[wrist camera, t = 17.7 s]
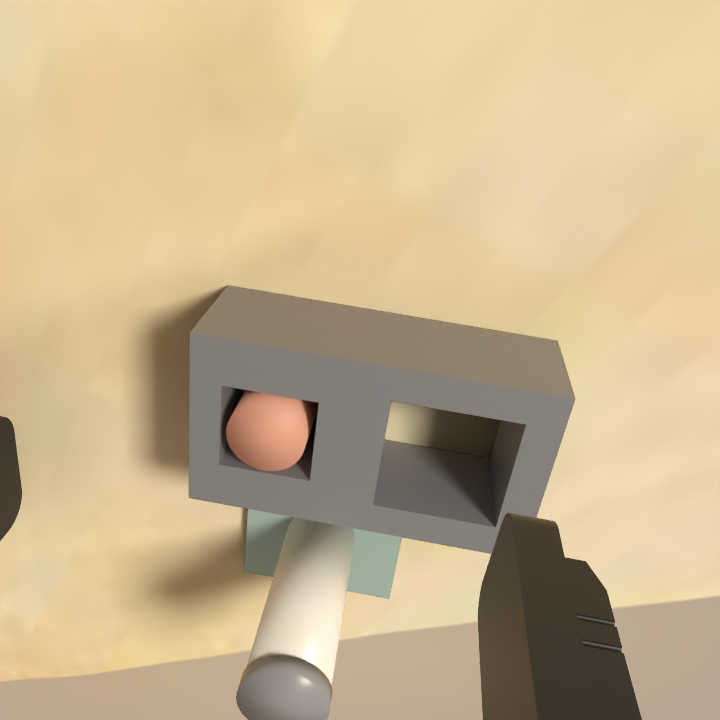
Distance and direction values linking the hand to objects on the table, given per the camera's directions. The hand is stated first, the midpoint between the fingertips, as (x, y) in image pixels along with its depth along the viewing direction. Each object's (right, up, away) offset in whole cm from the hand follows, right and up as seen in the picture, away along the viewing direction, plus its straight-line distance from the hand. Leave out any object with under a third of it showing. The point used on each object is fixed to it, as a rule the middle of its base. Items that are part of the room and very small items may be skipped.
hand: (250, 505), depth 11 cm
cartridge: (-1, -9, +32) cm, 34 cm away
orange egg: (-2, +1, +28) cm, 28 cm away
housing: (+3, +1, +28) cm, 28 cm away
